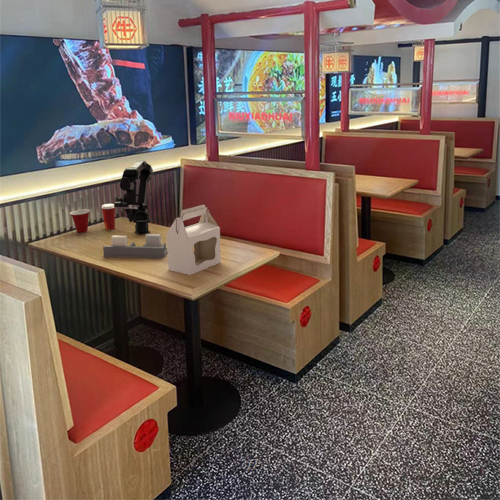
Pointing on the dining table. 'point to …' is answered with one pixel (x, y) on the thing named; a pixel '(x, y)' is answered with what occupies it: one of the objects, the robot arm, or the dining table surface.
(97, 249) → the dining table surface
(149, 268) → the dining table surface
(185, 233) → the gable box
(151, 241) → the white box
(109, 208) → the paper cup
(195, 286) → the dining table surface
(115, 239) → the cream block
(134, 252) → the grey compartment tray
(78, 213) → the plastic cup
